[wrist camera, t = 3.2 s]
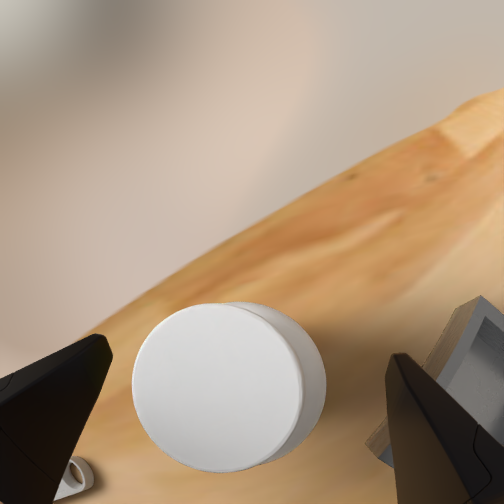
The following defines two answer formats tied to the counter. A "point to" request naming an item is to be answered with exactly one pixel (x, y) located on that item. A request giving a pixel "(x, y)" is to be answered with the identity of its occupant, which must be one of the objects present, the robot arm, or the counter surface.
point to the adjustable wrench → (68, 481)
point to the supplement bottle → (228, 386)
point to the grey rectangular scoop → (465, 370)
